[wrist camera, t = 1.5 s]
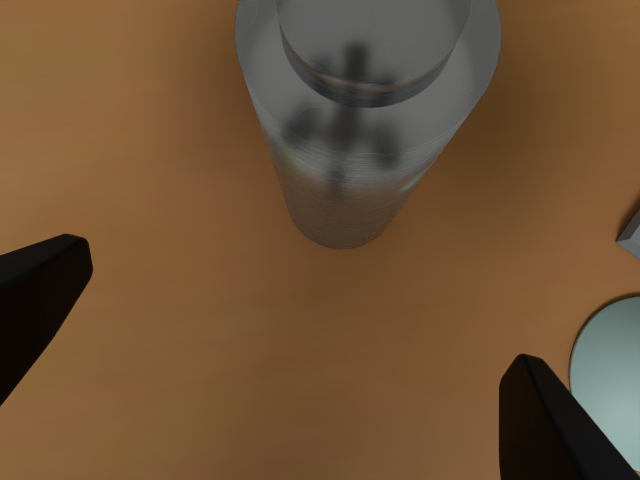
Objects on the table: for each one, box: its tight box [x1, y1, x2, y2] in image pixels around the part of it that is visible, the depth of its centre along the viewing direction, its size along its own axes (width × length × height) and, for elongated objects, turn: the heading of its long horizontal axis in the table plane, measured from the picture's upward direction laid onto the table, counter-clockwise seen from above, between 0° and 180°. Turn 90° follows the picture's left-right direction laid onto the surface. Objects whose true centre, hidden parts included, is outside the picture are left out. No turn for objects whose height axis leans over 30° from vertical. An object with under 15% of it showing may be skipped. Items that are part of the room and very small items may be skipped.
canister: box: [235, 0, 501, 249], centre depth 15 cm, size 6×6×14 cm
